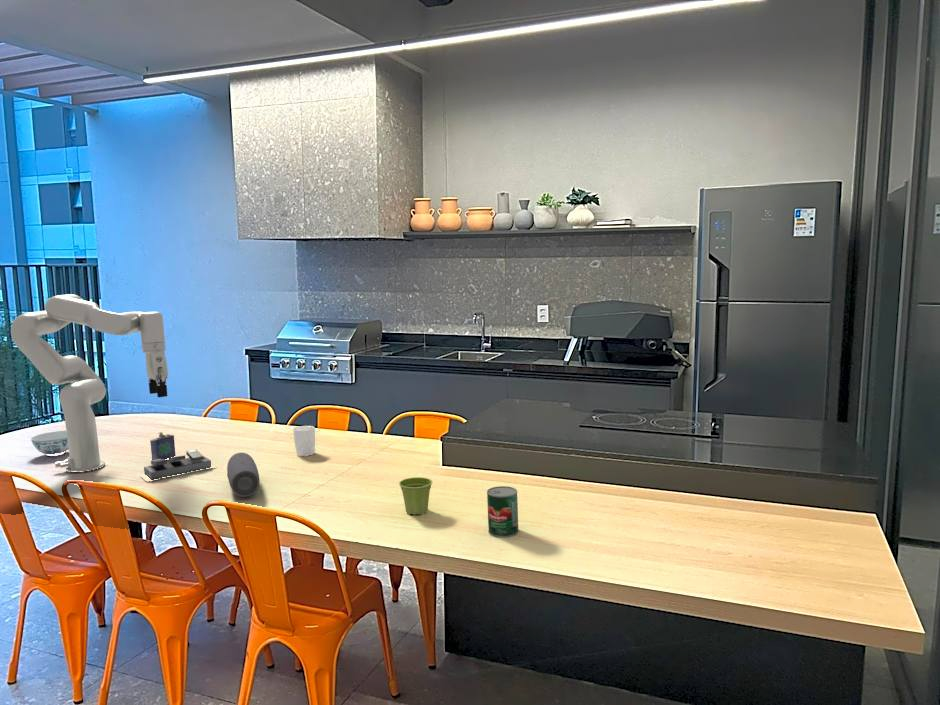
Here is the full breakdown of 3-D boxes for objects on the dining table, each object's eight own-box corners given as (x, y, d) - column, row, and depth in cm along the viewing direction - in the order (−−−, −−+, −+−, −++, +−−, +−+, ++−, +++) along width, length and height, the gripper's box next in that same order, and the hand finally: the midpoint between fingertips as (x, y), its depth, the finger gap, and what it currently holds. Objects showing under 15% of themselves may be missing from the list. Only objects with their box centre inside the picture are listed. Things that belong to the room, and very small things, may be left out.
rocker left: (156, 465, 242) (156, 461, 242) (151, 464, 247) (150, 460, 247) (167, 463, 244) (167, 459, 244) (162, 462, 249) (161, 458, 249)
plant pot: (416, 503, 209) (415, 475, 208) (440, 510, 203) (439, 480, 202) (393, 513, 202) (392, 483, 201) (417, 520, 196) (416, 489, 195)
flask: (154, 464, 260) (151, 435, 259) (150, 463, 262) (147, 434, 260) (177, 458, 268) (174, 430, 266) (172, 457, 269) (170, 429, 268)
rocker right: (192, 461, 249) (192, 457, 249) (186, 454, 254) (186, 451, 254) (203, 459, 251) (203, 455, 251) (196, 452, 256) (196, 449, 256)
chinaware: (63, 459, 271) (61, 439, 270) (24, 460, 271) (22, 441, 270) (85, 448, 286) (83, 430, 285) (48, 450, 286) (46, 431, 285)
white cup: (313, 456, 263) (311, 430, 261) (292, 457, 263) (290, 431, 261) (318, 451, 270) (316, 425, 269) (298, 451, 271) (296, 425, 269)
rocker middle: (174, 460, 245) (174, 457, 245) (169, 461, 251) (168, 458, 251) (185, 458, 247) (184, 455, 248) (179, 459, 253) (179, 455, 253)
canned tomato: (517, 525, 190) (516, 485, 188) (520, 536, 182) (519, 495, 181) (487, 526, 190) (486, 486, 188) (489, 538, 182) (487, 496, 180)
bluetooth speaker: (227, 482, 236) (224, 452, 235) (256, 477, 240) (253, 449, 238) (230, 503, 215) (227, 471, 214) (262, 498, 219) (259, 467, 217)
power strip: (147, 482, 238) (146, 472, 238) (139, 475, 247) (138, 466, 246) (216, 467, 253) (215, 458, 252) (206, 461, 261) (206, 452, 260)
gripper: (172, 347, 246) (176, 396, 248) (158, 344, 260) (162, 390, 262) (149, 350, 241) (154, 400, 244) (136, 346, 255) (140, 393, 257)
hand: (158, 394), depth 253 cm, fingers open, 9 cm apart
